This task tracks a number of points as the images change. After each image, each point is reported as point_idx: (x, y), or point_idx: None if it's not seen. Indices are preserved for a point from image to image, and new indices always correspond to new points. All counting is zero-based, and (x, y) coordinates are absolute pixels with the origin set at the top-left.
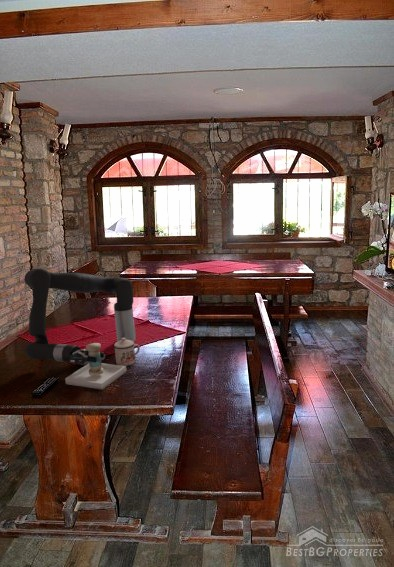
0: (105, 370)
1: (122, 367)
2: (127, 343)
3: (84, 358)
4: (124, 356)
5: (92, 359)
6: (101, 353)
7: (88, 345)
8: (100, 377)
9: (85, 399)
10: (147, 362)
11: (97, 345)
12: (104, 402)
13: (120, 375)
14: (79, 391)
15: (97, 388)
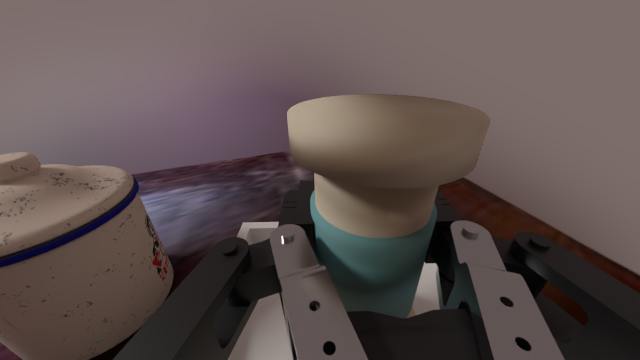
0: (259, 333)
1: (260, 227)
2: (88, 167)
3: (502, 246)
4: (154, 234)
5: (438, 196)
6: (313, 189)
7: (418, 128)
8: None
9: None
10: (152, 220)
11: (356, 99)
12: (483, 197)
13: None
14: None
15: None
